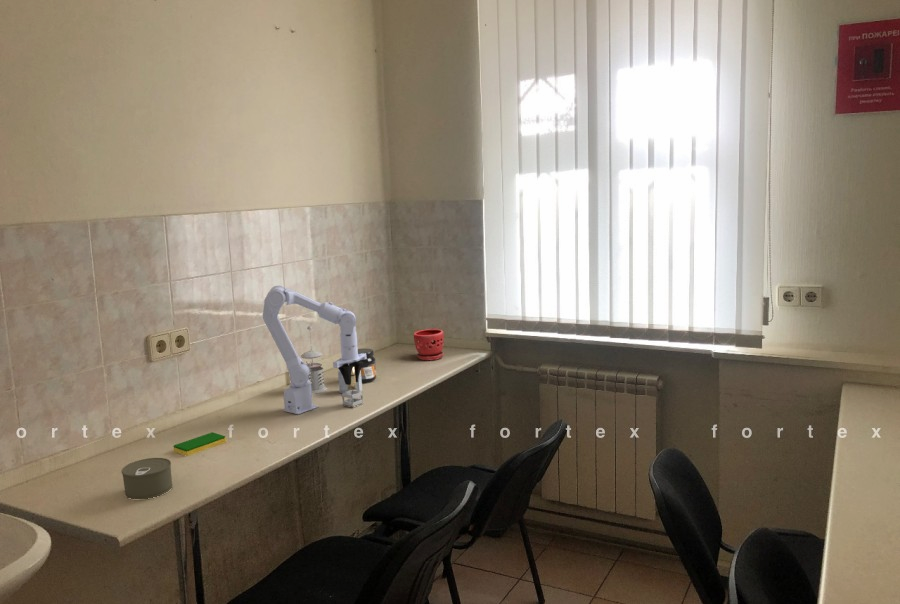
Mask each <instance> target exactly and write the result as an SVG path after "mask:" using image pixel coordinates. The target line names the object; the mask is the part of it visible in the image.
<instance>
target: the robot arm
mask: <svg viewBox="0 0 900 604" xmlns="http://www.w3.org/2000/svg"><path fill="white" fill-rule="evenodd" d="M285 303H286V306H290V305H295V304H296V305H298V306H301V307H304V308H306V309H309V310H311V311H314V312H316V313H317V315H318V317H319V318H321V319H323V320H326V321H328V322H330V323H333V324H335V325H338V326H339V327H340V332H339V333H340V334H339V338H340V352H341V353H340V354H341V357H340V358H339V359H337V360H335V361H333V362H332V367H333V368H335V369H338V371H339V370H340V372H341V374H342V376H343V378H344V381H345V384H347V385H351V371H352V366H355V374H356V375H355V376H356V382H358V379H359V374H360V370H361V368H362V366H363V362H362V361H360V360H363V359H367V358H366V354H365V353H361V354H358V349H359V347H358V335H357V331H356V330H357V326H356V325H357V318H356V315H355V313H354V312H352V311H351V310H350V309H347V310H346V308H344V307H343V308H341V307H338V306H337V305H334V302H332V301H329V302H327V301H324V302H322V303H321V302H319V301H318V300H317V301H316V300H314V299H312V298H310V297H308V296H306V295H304V294H301V293H300V292H298V291H296V290H293V289H291V288H289V287H286V288H285V287H284V286H283V285H274V286H273V287H271V289H270V290H269V291H268V293H267V294H266V296H265V298H264V300H263V309H262V320H263V321H264V323H265V325H266V327H267V329H268V331H269V333H270V335H271V337H272V338H273V340H274V341H273V342H274V343H275V345H276V347H277V349H278V350H279V352H280V354H281V356H282V358H283V360H284V362H285V365H286V369H287V371H288V374H289V380H290V383H289V386H288V387H287V388H285V389H284V391H283V406H284V409H283V412H286V413H291V414H295V415H300V414H304V413H306V412H309V411H311V410H314V409H317V408H319V406H318V405H316V404H313V393H312V390H311V383H312V382H311V380H310V381H309V379H308V376H309V374H311V372H310V370H309V367H308V366H307V365H306V364H307V363H306V362H305V363H304V361H303V360H302V359H303V358H302V357H301V356H299V354H298V353H297V351H296V349H295V346H294V344H293V343H292V341H291V339H290V337H289V335H288V333H287V331H286V329H285V327H284V325H283V324H282V321H281V319H280V317H279V314H280V312H281V311H280V310H281V308H282V307H283V306H284V304H285ZM309 377H310V376H309Z"/></svg>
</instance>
